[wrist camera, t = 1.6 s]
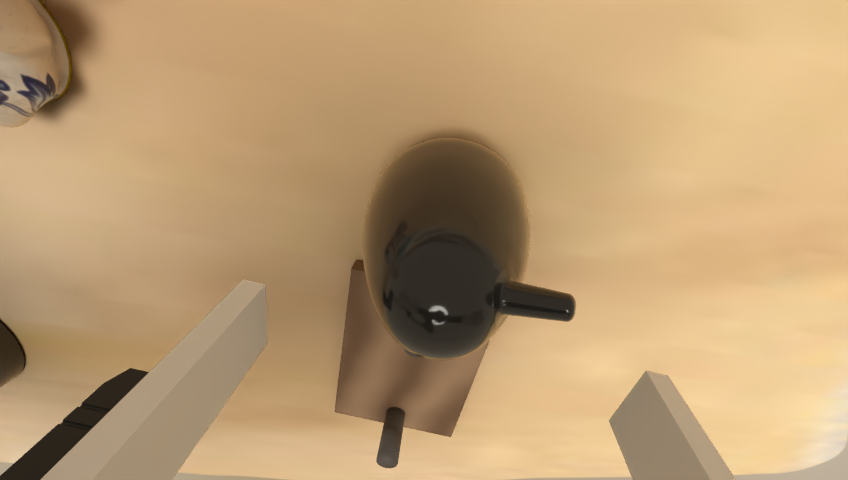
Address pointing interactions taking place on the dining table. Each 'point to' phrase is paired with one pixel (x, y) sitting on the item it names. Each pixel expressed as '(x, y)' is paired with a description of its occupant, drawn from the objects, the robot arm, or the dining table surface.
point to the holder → (396, 377)
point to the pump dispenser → (451, 250)
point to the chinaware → (30, 60)
